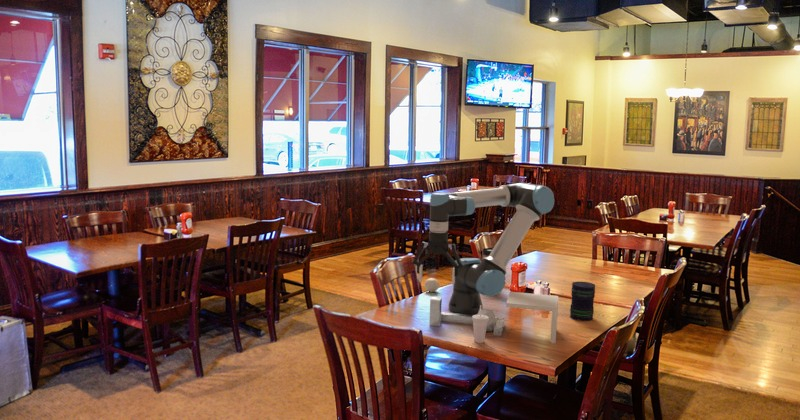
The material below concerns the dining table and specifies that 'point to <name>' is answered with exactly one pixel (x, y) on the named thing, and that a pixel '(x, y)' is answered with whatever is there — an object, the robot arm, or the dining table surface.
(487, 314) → the die
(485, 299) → the dining table surface
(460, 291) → the robot arm
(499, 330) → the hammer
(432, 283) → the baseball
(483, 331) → the smoothie
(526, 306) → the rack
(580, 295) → the storage jar
